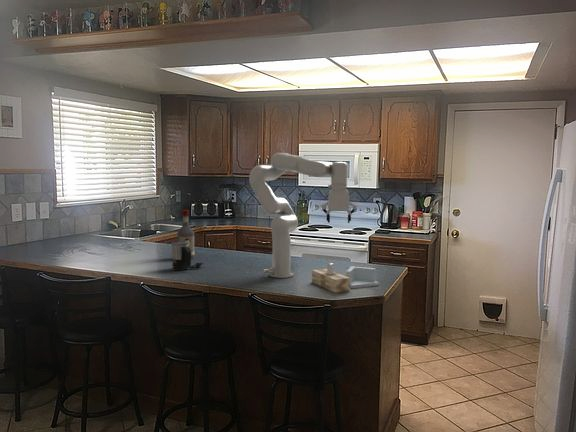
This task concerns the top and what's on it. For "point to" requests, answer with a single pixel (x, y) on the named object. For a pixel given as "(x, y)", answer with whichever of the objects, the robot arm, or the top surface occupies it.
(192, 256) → the liquor
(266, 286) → the top surface
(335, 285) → the beam
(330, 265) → the axle
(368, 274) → the grey angled piece
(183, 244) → the milk frother
